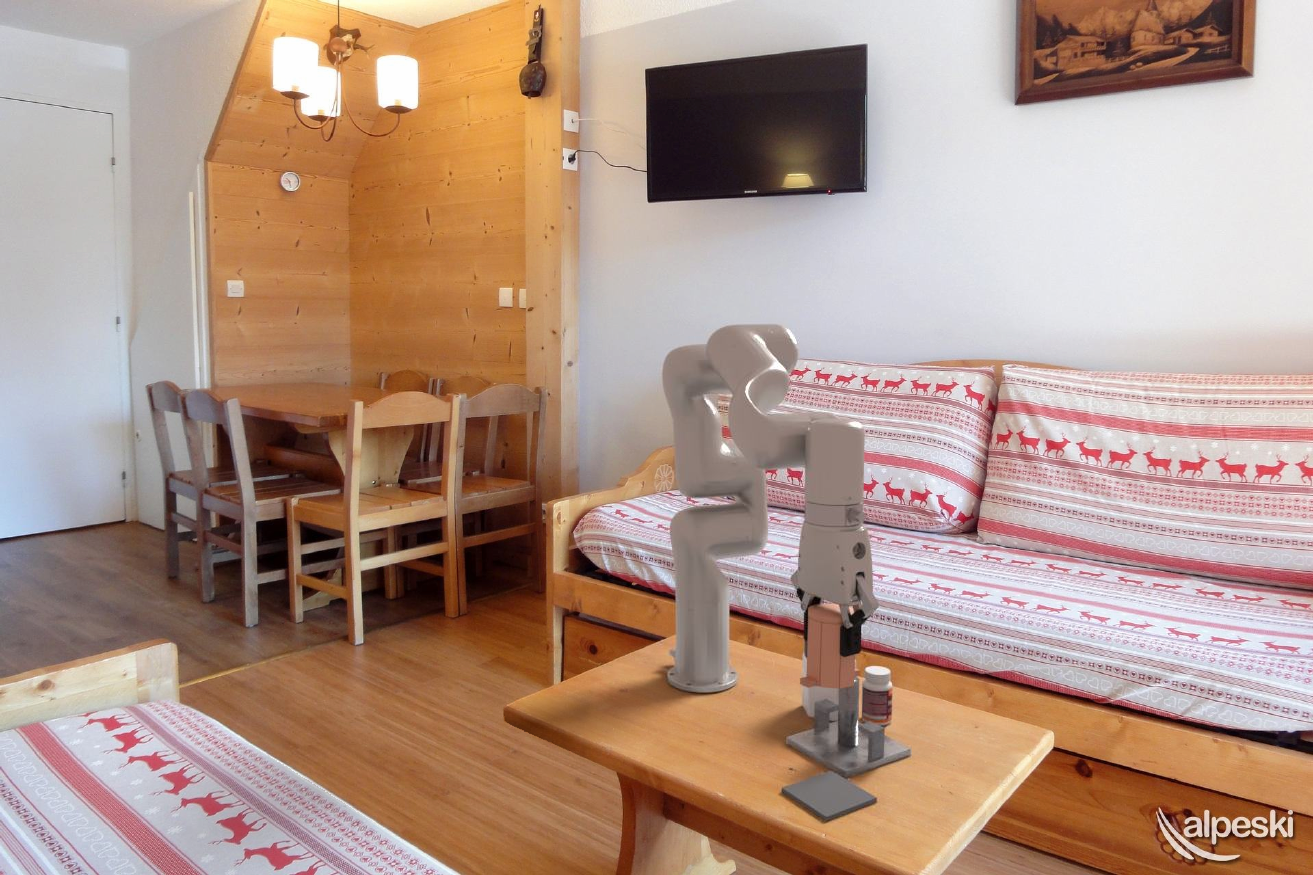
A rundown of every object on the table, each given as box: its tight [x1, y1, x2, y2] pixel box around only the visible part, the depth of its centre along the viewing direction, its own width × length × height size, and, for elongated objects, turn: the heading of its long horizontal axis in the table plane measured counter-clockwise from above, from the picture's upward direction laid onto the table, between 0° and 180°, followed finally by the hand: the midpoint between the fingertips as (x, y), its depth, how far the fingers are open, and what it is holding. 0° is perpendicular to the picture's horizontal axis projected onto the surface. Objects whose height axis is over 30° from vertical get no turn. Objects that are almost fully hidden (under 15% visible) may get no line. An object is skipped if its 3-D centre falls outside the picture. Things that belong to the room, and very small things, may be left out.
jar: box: [801, 639, 857, 722], centre depth 154 cm, size 9×8×12 cm
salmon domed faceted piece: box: [799, 602, 861, 689], centre depth 124 cm, size 9×6×10 cm
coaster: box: [781, 770, 878, 822], centre depth 127 cm, size 9×9×1 cm
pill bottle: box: [861, 665, 894, 727], centre depth 151 cm, size 5×5×8 cm
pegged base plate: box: [786, 676, 912, 779], centre depth 141 cm, size 13×13×11 cm
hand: (831, 645), depth 125 cm, fingers closed on salmon domed faceted piece, 6 cm apart
